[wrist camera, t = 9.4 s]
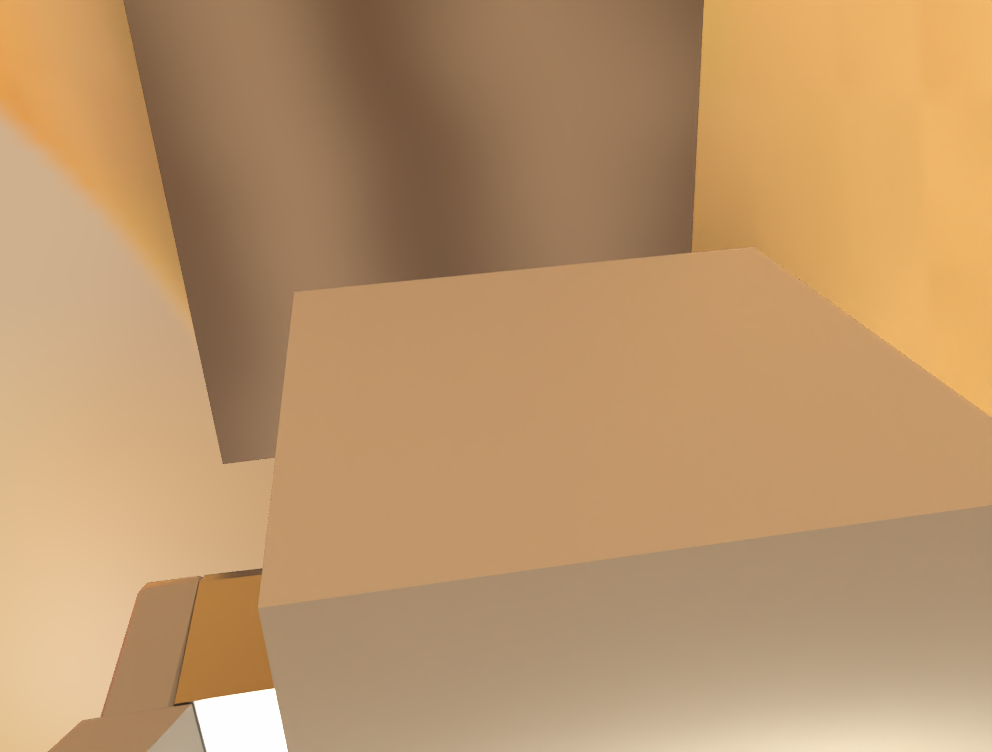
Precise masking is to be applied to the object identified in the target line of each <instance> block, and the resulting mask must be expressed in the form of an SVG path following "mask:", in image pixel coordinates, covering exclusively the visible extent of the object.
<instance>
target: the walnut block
mask: <svg viewBox="0 0 992 752" xmlns="http://www.w3.org/2000/svg"><path fill="white" fill-rule="evenodd" d="M124 5H125V9H126V14H127V19H128V23H129V28H130V33H131V37H132V42H133V47H134V51H135V56H136V61H137V65H138V70H139V75H140V79H141V84H142V89H143V93H144V98H145V103H146V107H147V112H148V117H149V121H150V126H151V131H152V135H153V140H154V145H155V149H156V154H157V159H158V163H159V168H160V173H161V177H162V182H163V186H164V191H165V196H166V200H167V205H168V210H169V214H170V219H171V224H172V228H173V233H174V238H175V242H176V247H177V252H178V256H179V261H180V266H181V270H182V275H183V280H184V284H185V289H186V294H187V298H188V303H189V308H190V312H191V317H192V322H193V326H194V331H195V336H196V340H197V345H198V350H199V354H200V359H201V364H202V368H203V373H204V378H205V382H206V387H207V392H208V396H209V401H210V406H211V410H212V415H213V420H214V424H215V429H216V434H217V438H218V443H219V447H220V452H221V457H222V461H223V464H227V463H235V462H242V461H251V460H259V459H267V458H275V455H276V446H277V437H278V428H279V420H280V411H281V402H282V393H283V385H284V376H285V367H286V359H287V350H288V341H289V332H290V324H291V315H292V306H293V298H294V292H299V291H309V290H319V289H329V288H339V287H349V286H360V285H370V284H380V283H390V282H400V281H410V280H420V279H431V278H441V277H451V276H461V275H471V274H481V273H491V272H501V271H512V270H522V269H532V268H542V267H552V266H562V265H572V264H583V263H593V262H603V261H613V260H623V259H633V258H643V257H654V256H664V255H674V254H684V253H691V249H692V229H693V209H694V188H695V168H696V148H697V128H698V107H699V87H700V67H701V47H702V27H703V6H704V0H124Z"/></svg>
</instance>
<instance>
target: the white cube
mask: <svg viewBox="0 0 992 752" xmlns="http://www.w3.org/2000/svg"><path fill="white" fill-rule="evenodd" d="M258 611H259V616H260V621H261V626H262V631H263V635H264V640H265V645H266V650H267V655H268V660H269V665H270V669H271V674H272V679H273V684H274V689H275V694H276V699H277V703H278V708H279V713H280V718H281V723H282V728H283V733H284V737H285V742H286V747H287V752H992V417H990V416H989V415H987V414H986V413H985V412H983V411H982V410H980V409H979V408H978V407H976V406H975V405H974V404H972V403H971V402H969V401H968V400H967V399H965V398H964V397H962V396H961V395H960V394H958V393H957V392H955V391H954V390H953V389H951V388H950V387H948V386H947V385H946V384H944V383H943V382H942V381H940V380H939V379H937V378H936V377H935V376H933V375H932V374H930V373H929V372H928V371H926V370H925V369H923V368H922V367H921V366H919V365H918V364H916V363H915V362H914V361H912V360H911V359H909V358H908V357H907V356H905V355H904V354H903V353H901V352H900V351H898V350H897V349H896V348H894V347H893V346H891V345H890V344H889V343H887V342H886V341H884V340H883V339H882V338H880V337H879V336H877V335H876V334H875V333H873V332H872V331H871V330H869V329H868V328H866V327H865V326H864V325H862V324H861V323H859V322H858V321H857V320H855V319H854V318H852V317H851V316H850V315H848V314H847V313H845V312H844V311H843V310H841V309H840V308H839V307H837V306H836V305H834V304H833V303H832V302H830V301H829V300H827V299H826V298H825V297H823V296H822V295H820V294H819V293H818V292H816V291H815V290H813V289H812V288H811V287H809V286H808V285H807V284H805V283H804V282H802V281H801V280H800V279H798V278H797V277H795V276H794V275H793V274H791V273H790V272H788V271H787V270H786V269H784V268H783V267H781V266H780V265H779V264H777V263H776V262H775V261H773V260H772V259H770V258H769V257H768V256H766V255H765V254H763V253H762V252H761V251H759V250H758V249H756V248H755V247H745V248H735V249H724V250H714V251H704V252H694V253H684V254H674V255H664V256H654V257H643V258H633V259H623V260H613V261H603V262H593V263H583V264H572V265H562V266H552V267H542V268H532V269H522V270H512V271H501V272H491V273H481V274H471V275H461V276H451V277H441V278H431V279H420V280H410V281H400V282H390V283H380V284H370V285H360V286H349V287H339V288H329V289H319V290H309V291H299V292H294V298H293V306H292V315H291V324H290V332H289V341H288V350H287V359H286V367H285V376H284V385H283V393H282V402H281V411H280V420H279V428H278V437H277V446H276V455H275V463H274V472H273V481H272V490H271V498H270V508H269V516H268V524H267V534H266V542H265V550H264V559H263V568H262V577H261V585H260V594H259V603H258Z"/></svg>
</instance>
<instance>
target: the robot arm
mask: <svg viewBox="0 0 992 752" xmlns="http://www.w3.org/2000/svg"><path fill="white" fill-rule="evenodd" d="M261 577H262V569H254V570H245V571H236V572H227V573H219V574H210V575H205V576H204V577H200V576H195V577H187V578H179V579H172V580H164V581H157V582H149V583H147V584H146V585H145V586H144V587H143V588H142V589H141V590H140V591H139V593H138V595H137V598H136V601H135V605H134V608H133V611H132V615H131V618H130V621H129V625H128V628H127V631H126V634H125V638H124V641H123V645H122V648H121V651H120V654H119V658H118V661H117V664H116V667H115V671H114V674H113V677H112V681H111V684H110V687H109V691H108V694H107V697H106V701H105V704H104V707H103V711H102V714H101V717H100V718H94V719H88V720H83V721H81V722H80V723H79V724H78V725H77V726H76V727H74V728H73V729H72V730H71V731H70V732H69V733H68V734H67V735H66V736H65V737H63V738H62V739H61V740H60V741H59V742H58V743H57V744H56V745H55V746H54V747H53V748H51V749H50V750H49V751H48V752H287V747H286V742H285V737H284V733H283V728H282V723H281V718H280V713H279V708H278V703H277V699H276V694H275V689H274V684H273V679H272V674H271V669H270V665H269V660H268V655H267V650H266V645H265V640H264V635H263V631H262V626H261V621H260V616H259V611H258V603H259V594H260V585H261Z"/></svg>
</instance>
